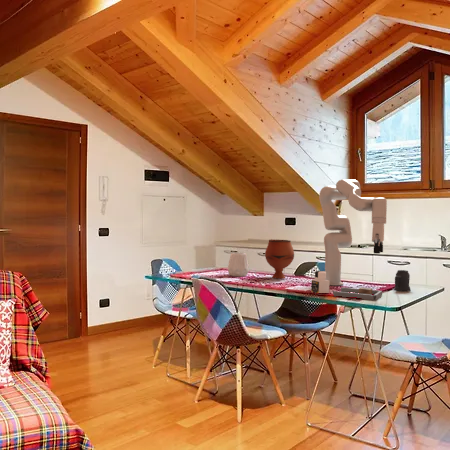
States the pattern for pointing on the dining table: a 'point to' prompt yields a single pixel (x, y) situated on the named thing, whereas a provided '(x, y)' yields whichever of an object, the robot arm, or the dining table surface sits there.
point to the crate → (365, 291)
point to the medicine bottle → (320, 283)
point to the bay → (364, 296)
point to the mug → (402, 281)
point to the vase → (238, 264)
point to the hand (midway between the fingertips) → (378, 252)
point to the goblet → (279, 256)
